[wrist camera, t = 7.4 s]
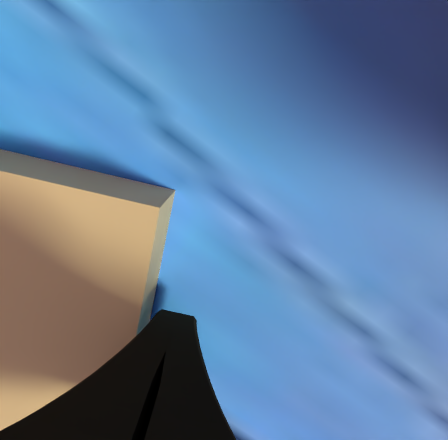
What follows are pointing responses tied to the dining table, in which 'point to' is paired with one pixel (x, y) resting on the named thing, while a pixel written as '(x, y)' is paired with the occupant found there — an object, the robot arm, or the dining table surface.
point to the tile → (71, 274)
